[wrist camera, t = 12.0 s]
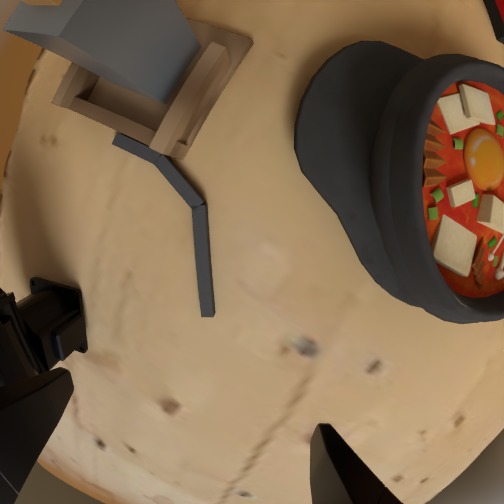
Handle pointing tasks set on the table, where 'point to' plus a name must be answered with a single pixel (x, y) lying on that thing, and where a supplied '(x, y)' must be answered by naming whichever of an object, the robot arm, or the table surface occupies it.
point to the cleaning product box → (496, 17)
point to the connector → (114, 39)
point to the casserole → (413, 172)
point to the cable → (198, 215)
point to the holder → (151, 111)
